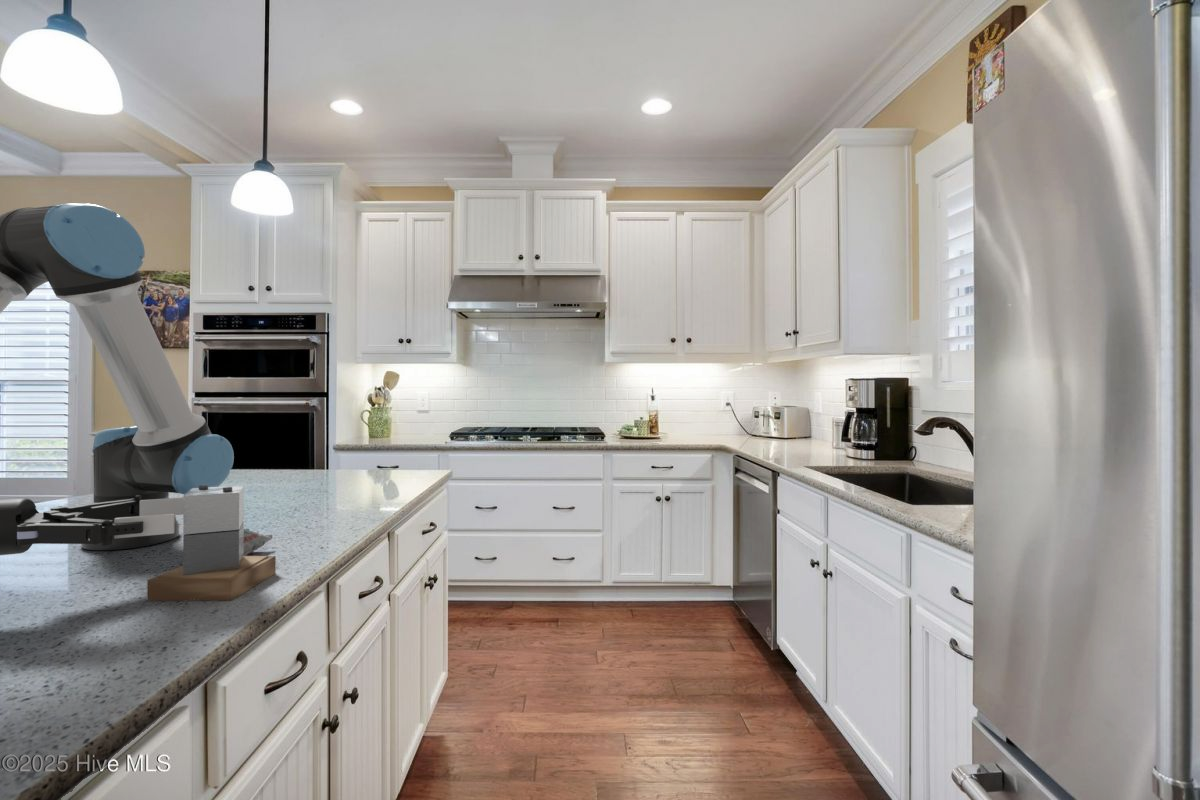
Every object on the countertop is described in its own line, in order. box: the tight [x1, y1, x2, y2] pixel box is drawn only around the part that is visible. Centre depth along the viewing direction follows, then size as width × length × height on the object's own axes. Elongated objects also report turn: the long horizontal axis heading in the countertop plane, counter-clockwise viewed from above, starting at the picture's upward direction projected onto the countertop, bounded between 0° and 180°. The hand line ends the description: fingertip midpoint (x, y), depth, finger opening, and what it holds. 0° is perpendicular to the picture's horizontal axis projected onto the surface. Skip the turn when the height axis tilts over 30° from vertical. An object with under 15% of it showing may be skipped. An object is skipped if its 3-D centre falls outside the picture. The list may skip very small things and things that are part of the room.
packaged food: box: [244, 528, 273, 556], centre depth 101 cm, size 9×12×5 cm
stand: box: [146, 555, 277, 602], centre depth 87 cm, size 12×12×3 cm
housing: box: [182, 484, 245, 576], centre depth 87 cm, size 7×7×13 cm
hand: (183, 513), depth 85 cm, fingers open, 13 cm apart
